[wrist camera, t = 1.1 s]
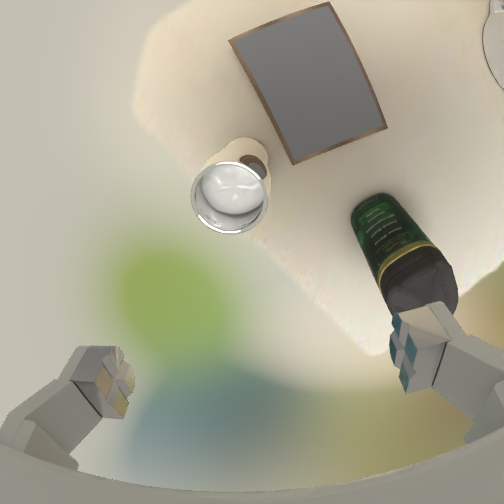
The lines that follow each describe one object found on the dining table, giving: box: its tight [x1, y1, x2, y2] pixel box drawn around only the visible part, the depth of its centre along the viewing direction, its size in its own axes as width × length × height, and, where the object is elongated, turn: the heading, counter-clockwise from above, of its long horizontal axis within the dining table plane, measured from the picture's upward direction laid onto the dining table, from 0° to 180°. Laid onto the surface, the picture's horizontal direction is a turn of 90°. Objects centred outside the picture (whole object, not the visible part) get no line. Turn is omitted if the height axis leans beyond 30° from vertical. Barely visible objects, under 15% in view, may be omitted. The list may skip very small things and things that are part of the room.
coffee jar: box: [351, 194, 458, 316], centre depth 34 cm, size 10×8×19 cm
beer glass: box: [191, 137, 271, 234], centre depth 32 cm, size 7×7×15 cm
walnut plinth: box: [228, 2, 388, 165], centre depth 31 cm, size 12×16×5 cm
